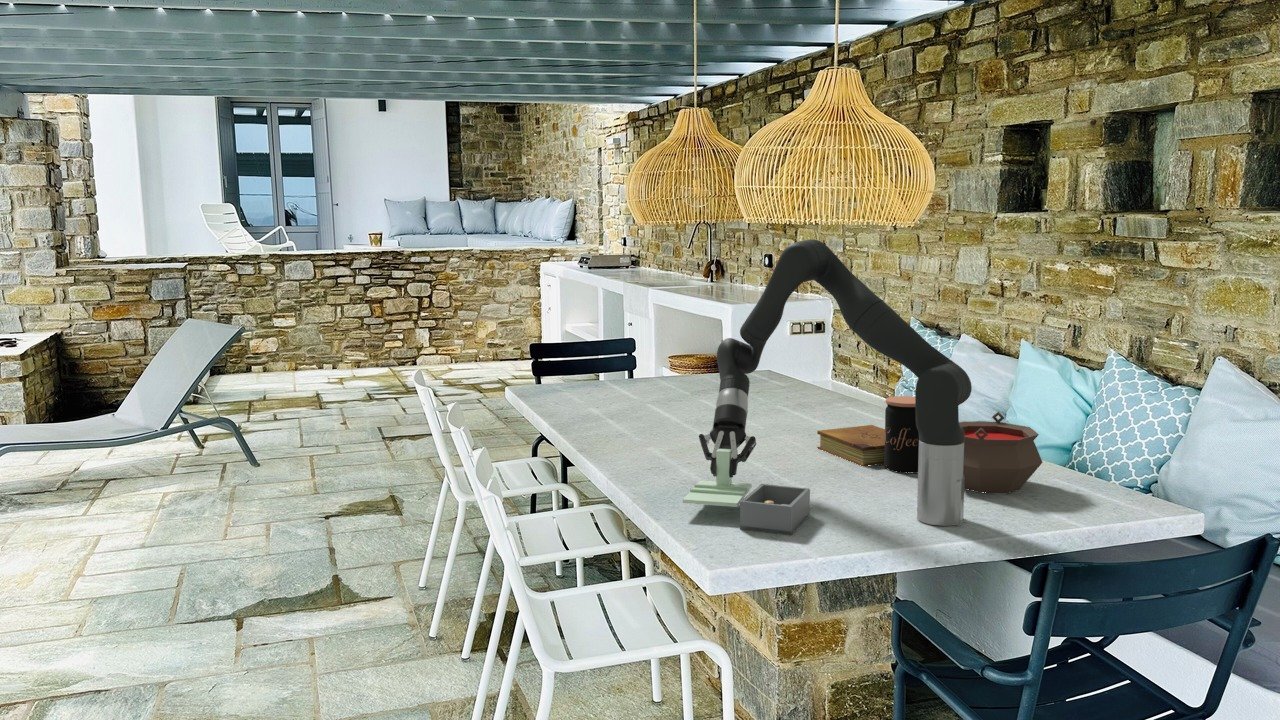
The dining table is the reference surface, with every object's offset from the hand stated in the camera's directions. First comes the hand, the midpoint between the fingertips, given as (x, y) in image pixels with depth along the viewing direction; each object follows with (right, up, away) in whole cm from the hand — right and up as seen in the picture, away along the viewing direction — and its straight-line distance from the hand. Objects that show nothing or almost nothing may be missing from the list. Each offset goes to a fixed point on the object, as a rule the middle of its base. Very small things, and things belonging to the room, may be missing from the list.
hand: (722, 475), depth 228 cm
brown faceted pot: (+65, -4, +14) cm, 66 cm away
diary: (+44, 0, +48) cm, 65 cm away
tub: (+10, -9, -12) cm, 18 cm away
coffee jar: (+49, -2, +31) cm, 58 cm away
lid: (-1, -4, -3) cm, 5 cm away
